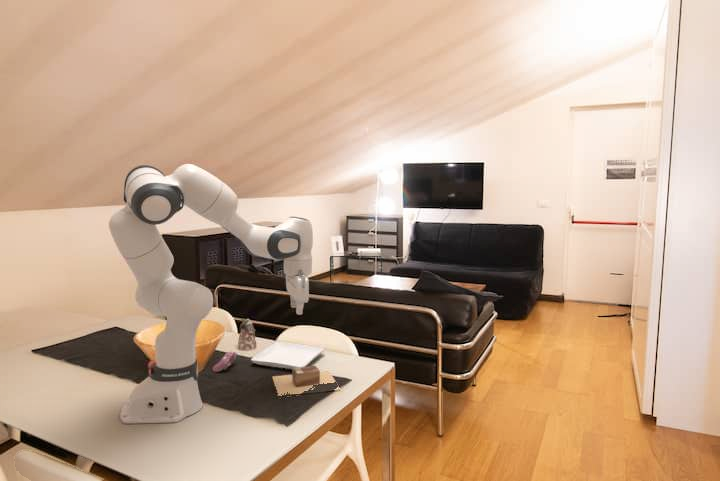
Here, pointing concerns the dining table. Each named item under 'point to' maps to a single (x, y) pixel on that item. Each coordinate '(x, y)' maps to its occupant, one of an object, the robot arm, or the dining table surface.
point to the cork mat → (286, 385)
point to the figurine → (247, 336)
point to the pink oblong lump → (225, 361)
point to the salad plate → (287, 355)
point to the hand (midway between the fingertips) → (296, 310)
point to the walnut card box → (305, 376)
